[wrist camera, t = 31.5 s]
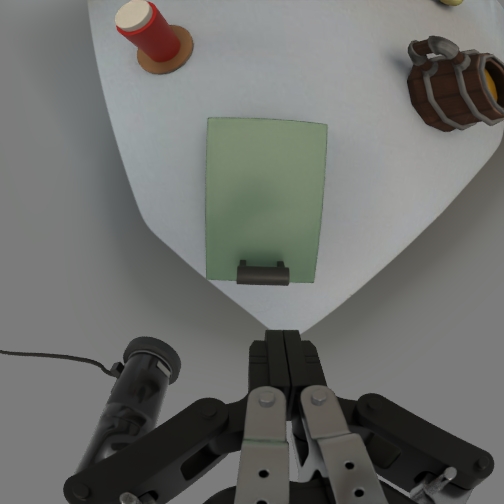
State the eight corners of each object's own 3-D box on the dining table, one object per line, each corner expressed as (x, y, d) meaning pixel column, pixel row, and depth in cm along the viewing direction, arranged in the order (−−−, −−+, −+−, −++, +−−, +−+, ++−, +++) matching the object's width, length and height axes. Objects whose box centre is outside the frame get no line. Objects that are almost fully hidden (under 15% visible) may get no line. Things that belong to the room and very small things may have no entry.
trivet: (152, 84, 31) (150, 83, 30) (131, 47, 29) (129, 45, 28) (203, 55, 30) (202, 53, 29) (179, 18, 27) (177, 16, 27)
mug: (467, 91, 30) (528, 84, 15) (449, 145, 33) (516, 152, 19) (398, 32, 27) (451, -2, 13) (374, 85, 31) (434, 60, 17)
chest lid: (312, 280, 32) (322, 300, 27) (207, 276, 32) (200, 297, 27) (325, 125, 26) (340, 119, 21) (208, 118, 26) (200, 110, 21)
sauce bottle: (156, 68, 29) (119, 39, 18) (143, 46, 28) (106, 14, 17) (186, 50, 29) (160, 13, 17) (172, 29, 27) (144, -11, 16)
